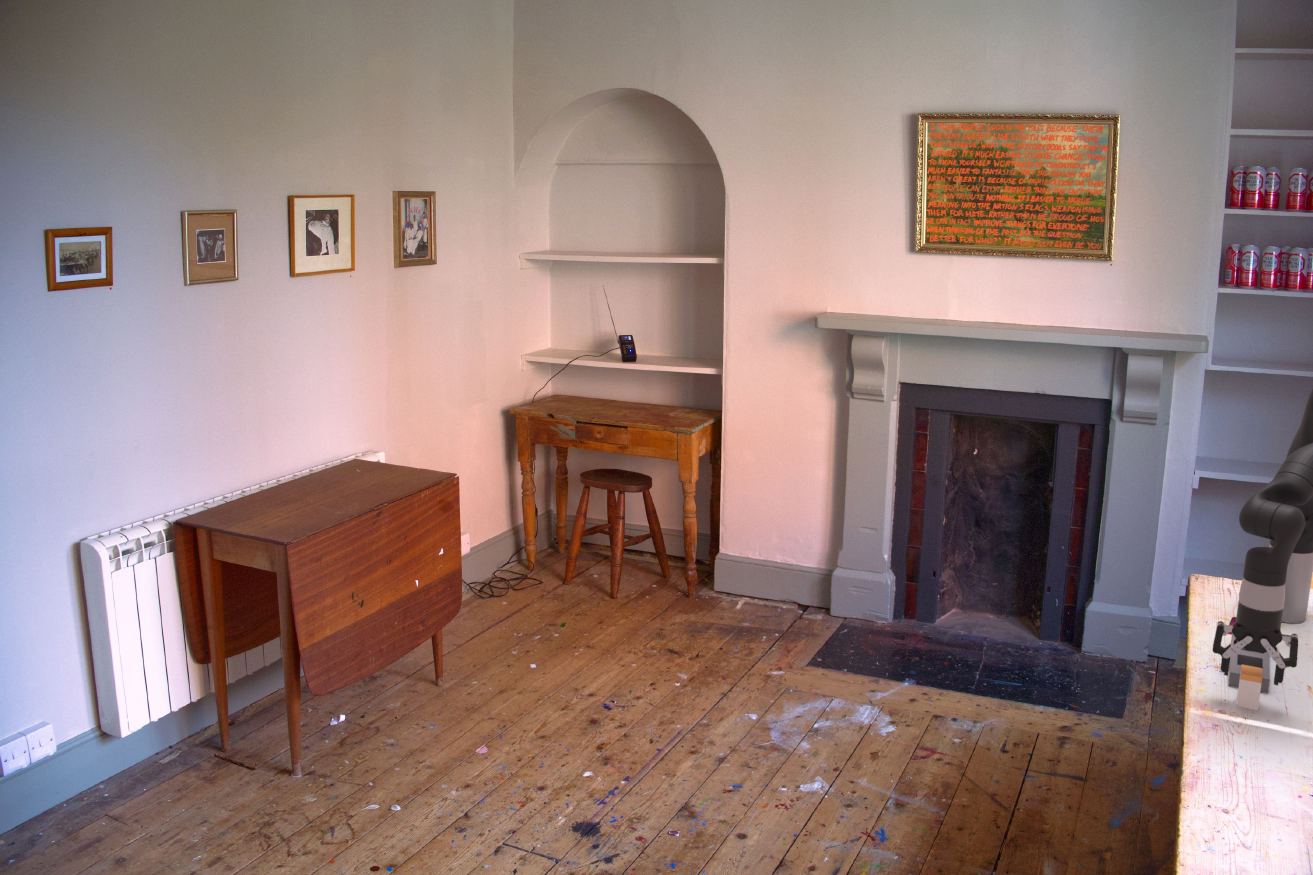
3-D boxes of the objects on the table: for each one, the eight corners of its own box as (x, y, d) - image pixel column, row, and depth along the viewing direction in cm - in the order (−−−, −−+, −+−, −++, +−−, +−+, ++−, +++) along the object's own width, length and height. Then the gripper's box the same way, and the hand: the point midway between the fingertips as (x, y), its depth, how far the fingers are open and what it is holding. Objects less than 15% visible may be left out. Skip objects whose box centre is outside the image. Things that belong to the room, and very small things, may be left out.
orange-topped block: (1236, 700, 208) (1241, 664, 206) (1257, 705, 206) (1262, 668, 204) (1236, 710, 204) (1241, 673, 202) (1257, 714, 203) (1262, 677, 201)
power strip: (1230, 647, 231) (1232, 627, 230) (1266, 653, 228) (1269, 633, 226) (1227, 689, 212) (1230, 668, 211) (1267, 697, 209) (1270, 675, 208)
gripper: (1218, 602, 200) (1209, 678, 204) (1305, 615, 193) (1293, 695, 197) (1219, 588, 206) (1210, 663, 210) (1303, 601, 200) (1292, 678, 204)
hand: (1250, 678), depth 204 cm, fingers open, 8 cm apart
